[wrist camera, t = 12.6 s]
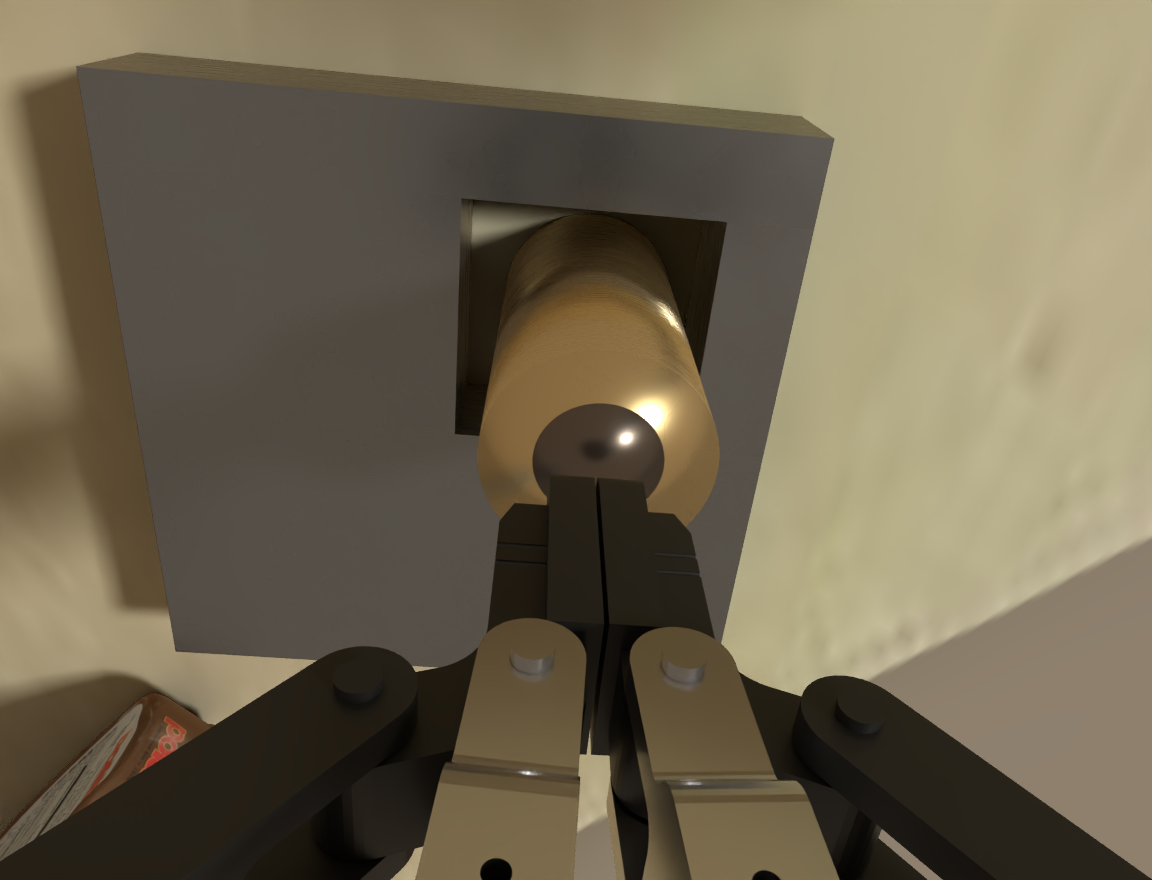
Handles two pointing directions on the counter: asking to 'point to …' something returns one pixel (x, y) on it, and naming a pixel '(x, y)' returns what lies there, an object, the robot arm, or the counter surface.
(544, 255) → the golden brown cylinder
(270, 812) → the robot arm
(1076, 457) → the counter surface
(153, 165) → the jig
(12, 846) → the tin
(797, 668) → the counter surface
